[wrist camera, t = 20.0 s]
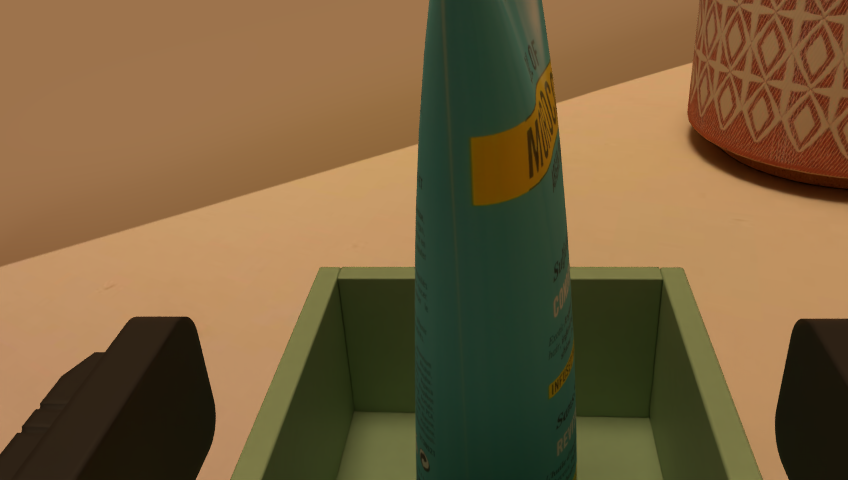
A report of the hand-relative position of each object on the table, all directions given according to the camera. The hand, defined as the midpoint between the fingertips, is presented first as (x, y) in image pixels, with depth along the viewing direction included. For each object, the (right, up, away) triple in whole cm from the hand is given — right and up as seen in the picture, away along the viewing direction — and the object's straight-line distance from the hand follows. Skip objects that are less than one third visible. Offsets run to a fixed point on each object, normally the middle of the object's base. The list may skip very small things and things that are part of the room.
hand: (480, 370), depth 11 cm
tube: (+2, -8, +14) cm, 16 cm away
